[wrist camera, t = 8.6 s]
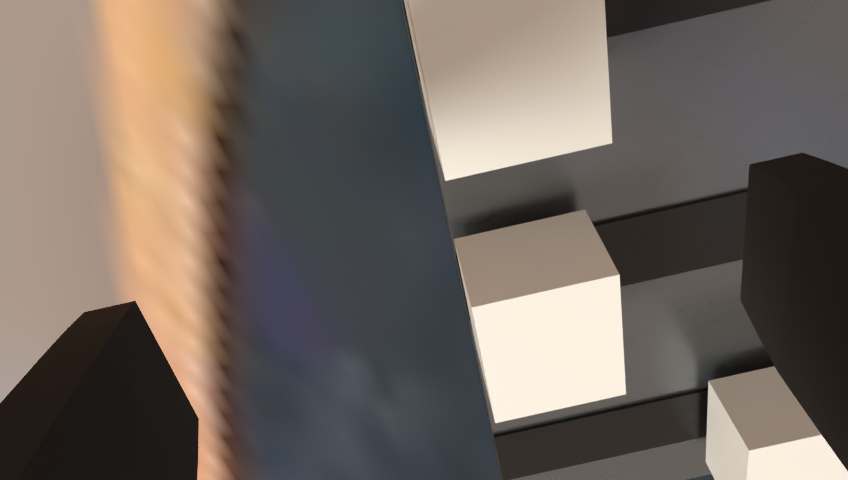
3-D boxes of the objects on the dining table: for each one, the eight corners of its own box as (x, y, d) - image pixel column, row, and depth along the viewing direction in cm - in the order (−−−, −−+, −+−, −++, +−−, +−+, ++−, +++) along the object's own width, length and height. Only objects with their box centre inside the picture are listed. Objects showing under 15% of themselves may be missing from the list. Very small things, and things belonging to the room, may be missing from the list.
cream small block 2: (585, 209, 17) (619, 274, 15) (594, 323, 19) (626, 394, 17) (453, 239, 17) (471, 307, 15) (476, 350, 19) (495, 423, 17)
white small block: (817, 356, 21) (869, 424, 19) (804, 439, 23) (850, 508, 21) (708, 380, 21) (749, 450, 19) (705, 461, 23) (741, 532, 21)
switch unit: (961, -294, 15) (1047, -293, 13) (837, 391, 26) (875, 441, 24) (366, -155, 15) (374, -136, 13) (498, 466, 26) (511, 520, 24)
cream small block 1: (559, -95, 13) (601, -61, 12) (575, 87, 15) (612, 142, 14) (391, -56, 14) (404, -15, 12) (428, 120, 16) (445, 180, 14)
